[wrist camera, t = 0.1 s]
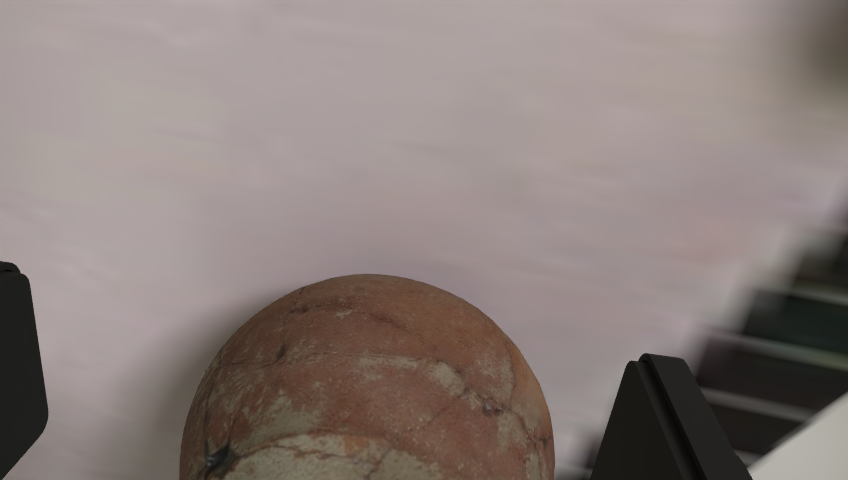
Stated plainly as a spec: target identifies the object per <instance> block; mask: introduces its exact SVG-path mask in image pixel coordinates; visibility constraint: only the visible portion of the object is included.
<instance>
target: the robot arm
mask: <svg viewBox="0 0 848 480" xmlns="http://www.w3.org/2000/svg"><path fill="white" fill-rule="evenodd" d="M47 420H48V405H47V398H46V391H45V385H44V378H43V371H42V364H41V357H40V350H39V343H38V336H37V330H36V323H35V316H34V309H33V302H32V295H31V288H30V283H29V279H28V278H27V277H26V276H25V275H24V274H21V273H20V270H19V269H18V267H17V266H16V265H14V264H13V263H9V262H2V261H0V480H2V479H3V478H4V477H5V476H6V474H7V473H8V472H9V471H10V470H11V469H12V468H13V466H14V465H15V464H16V463H17V462H18V461H19V460H20V458H21V457H22V456H23V455H24V454H25V453H26V452H27V450H28V449H29V448H30V447H31V446H32V445H33V444H34V442H35V441H36V440H37V439H38V438H39V437H40V435H41V434H42V433H43V431H44V429H45V427H46V424H47ZM590 480H753V479H752V477H751V476H750V474H749V472H748V470H747V468H746V466H745V465H744V463H743V462H742V461H741V459H740V458H739V456H737V455H736V454H735V452H734V450H733V449H732V447H731V445H730V443H729V441H728V439H727V437H726V436H725V434H724V432H723V430H722V428H721V426H720V425H719V423H718V421H717V419H716V417H715V415H714V413H713V412H712V410H711V408H710V406H709V404H708V402H707V400H706V399H705V397H704V395H703V393H702V391H701V389H700V388H699V386H698V384H697V382H696V380H695V378H694V376H693V375H692V373H691V371H690V369H689V367H688V365H687V364H686V362H685V361H684V360H683V359H681V358H676V357H669V356H662V355H655V354H648V353H645V354H643V355H642V356H641V357H640V358H639V361H629V362H628V364H627V366H626V368H625V371H624V374H623V377H622V380H621V383H620V387H619V390H618V393H617V396H616V399H615V402H614V405H613V409H612V412H611V415H610V418H609V421H608V424H607V427H606V431H605V434H604V437H603V440H602V443H601V446H600V449H599V453H598V456H597V459H596V462H595V465H594V468H593V471H592V475H591V478H590Z"/></svg>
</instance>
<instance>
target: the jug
mask: <svg viewBox="0 0 848 480" xmlns="http://www.w3.org/2000/svg"><path fill="white" fill-rule="evenodd" d="M554 468H555V453H554V440H553V431H552V424H551V418H550V413H549V410H548V407H547V404H546V401H545V398H544V395H543V392H542V389H541V387H540V384H539V382H538V380H537V378H536V377H535V375H534V373H533V372H532V370H531V368H530V367H529V365H528V363H527V362H526V360H525V359H524V357H523V355H522V354H521V352H520V350H519V349H518V347H517V346H516V345H515V344H514V343H513V342H512V341H511V339H510V338H509V337H508V336H507V335H506V334H505V333H504V332H503V331H502V330H501V329H500V328H499V327H498V326H497V325H496V324H495V322H494V321H493V320H492V319H490V318H489V317H488V316H487V315H485V314H484V313H483V312H482V311H480V310H479V309H478V308H476V307H475V306H473V305H471V304H470V303H468V302H467V301H465V300H463V299H462V298H459V297H457V296H455V295H453V294H451V293H449V292H447V291H444V290H442V289H439V288H437V287H434V286H432V285H429V284H426V283H423V282H419V281H415V280H412V279H407V278H402V277H397V276H389V275H380V274H354V275H348V276H341V277H335V278H331V279H327V280H324V281H321V282H317V283H314V284H311V285H308V286H305V287H301V288H299V289H297V290H295V291H293V292H291V293H289V294H287V295H286V296H284V297H282V298H280V299H279V300H277V301H275V302H273V303H272V304H270V305H269V306H267V307H266V308H264V309H263V310H261V311H260V312H259V313H257V314H256V315H255V316H254V317H252V318H251V319H250V320H249V321H248V322H246V323H245V324H244V325H243V326H242V327H241V328H239V329H238V330H237V331H236V332H235V334H234V335H233V336H232V337H231V338H230V339H229V340H228V341H227V342H226V344H225V345H224V346H223V347H222V348H221V350H220V351H219V352H218V354H217V355H216V357H215V358H214V360H213V361H212V363H211V364H210V366H209V367H208V368H207V369H206V373H205V375H204V377H203V379H202V381H201V383H200V385H199V387H198V389H197V392H196V395H195V397H194V400H193V402H192V405H191V408H190V410H189V413H188V417H187V420H186V424H185V428H184V433H183V439H182V444H181V455H180V477H179V480H554Z"/></svg>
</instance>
